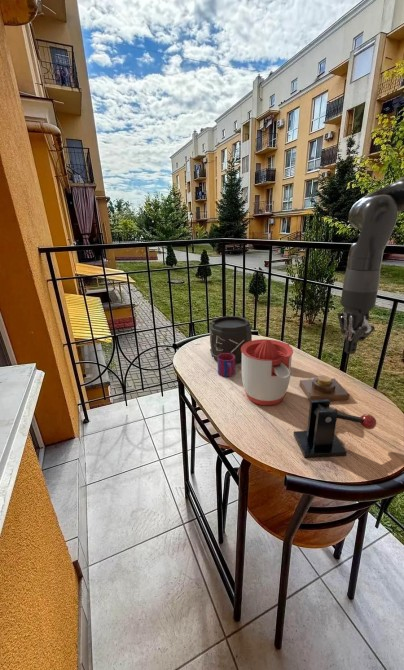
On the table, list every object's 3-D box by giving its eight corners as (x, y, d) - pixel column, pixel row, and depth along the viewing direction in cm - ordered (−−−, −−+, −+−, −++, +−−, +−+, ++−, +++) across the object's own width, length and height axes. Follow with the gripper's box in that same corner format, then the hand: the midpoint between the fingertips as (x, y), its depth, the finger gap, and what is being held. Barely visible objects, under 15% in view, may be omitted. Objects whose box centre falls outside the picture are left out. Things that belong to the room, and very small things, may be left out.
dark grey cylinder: (200, 356, 122) (198, 322, 116) (228, 344, 133) (228, 312, 127) (231, 370, 109) (231, 332, 103) (259, 355, 120) (260, 321, 114)
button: (327, 379, 93) (328, 375, 92) (332, 386, 89) (333, 381, 88) (315, 380, 93) (315, 375, 92) (320, 386, 89) (321, 381, 88)
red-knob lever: (366, 424, 71) (373, 412, 70) (375, 433, 68) (382, 422, 66) (311, 412, 69) (317, 400, 68) (317, 421, 66) (323, 409, 65)
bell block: (333, 383, 97) (335, 373, 95) (348, 400, 88) (350, 389, 86) (299, 385, 97) (300, 375, 95) (310, 402, 87) (311, 391, 86)
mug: (234, 368, 111) (234, 352, 108) (237, 381, 101) (237, 364, 99) (217, 369, 111) (216, 353, 108) (219, 382, 101) (218, 365, 99)
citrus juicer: (260, 419, 81) (262, 356, 74) (232, 389, 96) (231, 335, 89) (303, 405, 86) (309, 345, 79) (270, 379, 101) (273, 327, 94)
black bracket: (330, 433, 74) (336, 395, 70) (346, 456, 67) (353, 415, 63) (293, 435, 74) (297, 397, 70) (304, 458, 67) (309, 417, 63)
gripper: (394, 292, 62) (379, 363, 68) (359, 281, 74) (349, 342, 80) (360, 294, 61) (349, 365, 68) (331, 283, 74) (324, 343, 80)
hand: (349, 352), depth 74 cm, fingers closed
